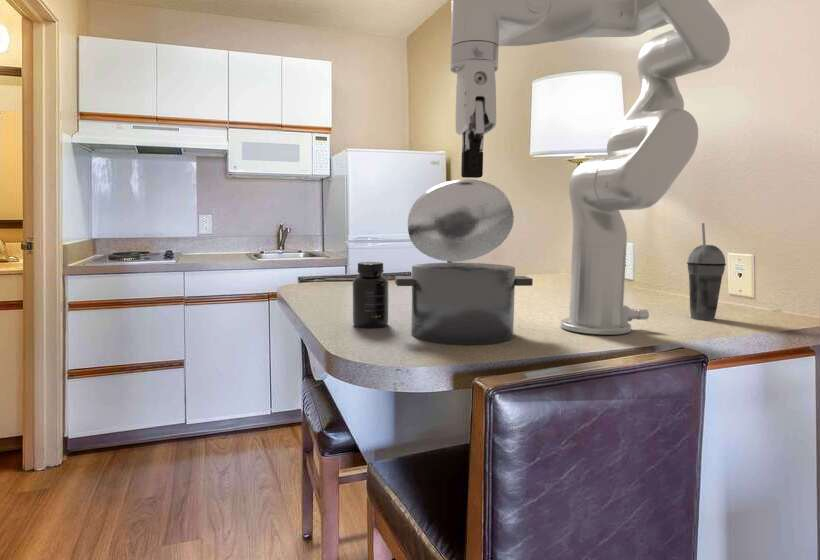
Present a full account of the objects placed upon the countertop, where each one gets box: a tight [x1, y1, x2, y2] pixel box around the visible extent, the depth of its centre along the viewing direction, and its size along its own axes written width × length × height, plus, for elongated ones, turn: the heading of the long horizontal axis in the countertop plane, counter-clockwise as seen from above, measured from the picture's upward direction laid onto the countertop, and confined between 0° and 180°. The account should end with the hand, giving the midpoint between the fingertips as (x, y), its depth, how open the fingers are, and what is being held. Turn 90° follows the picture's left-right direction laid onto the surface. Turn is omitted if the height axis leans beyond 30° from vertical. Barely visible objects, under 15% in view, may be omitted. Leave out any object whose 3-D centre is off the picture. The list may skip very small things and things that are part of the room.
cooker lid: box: [407, 178, 515, 262], centre depth 101 cm, size 19×19×3 cm
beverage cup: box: [686, 222, 727, 321], centre depth 116 cm, size 7×7×20 cm
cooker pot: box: [394, 262, 534, 346], centre depth 98 cm, size 24×18×12 cm
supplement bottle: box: [352, 261, 389, 329], centre depth 106 cm, size 7×7×12 cm
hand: (471, 177), depth 90 cm, fingers closed
